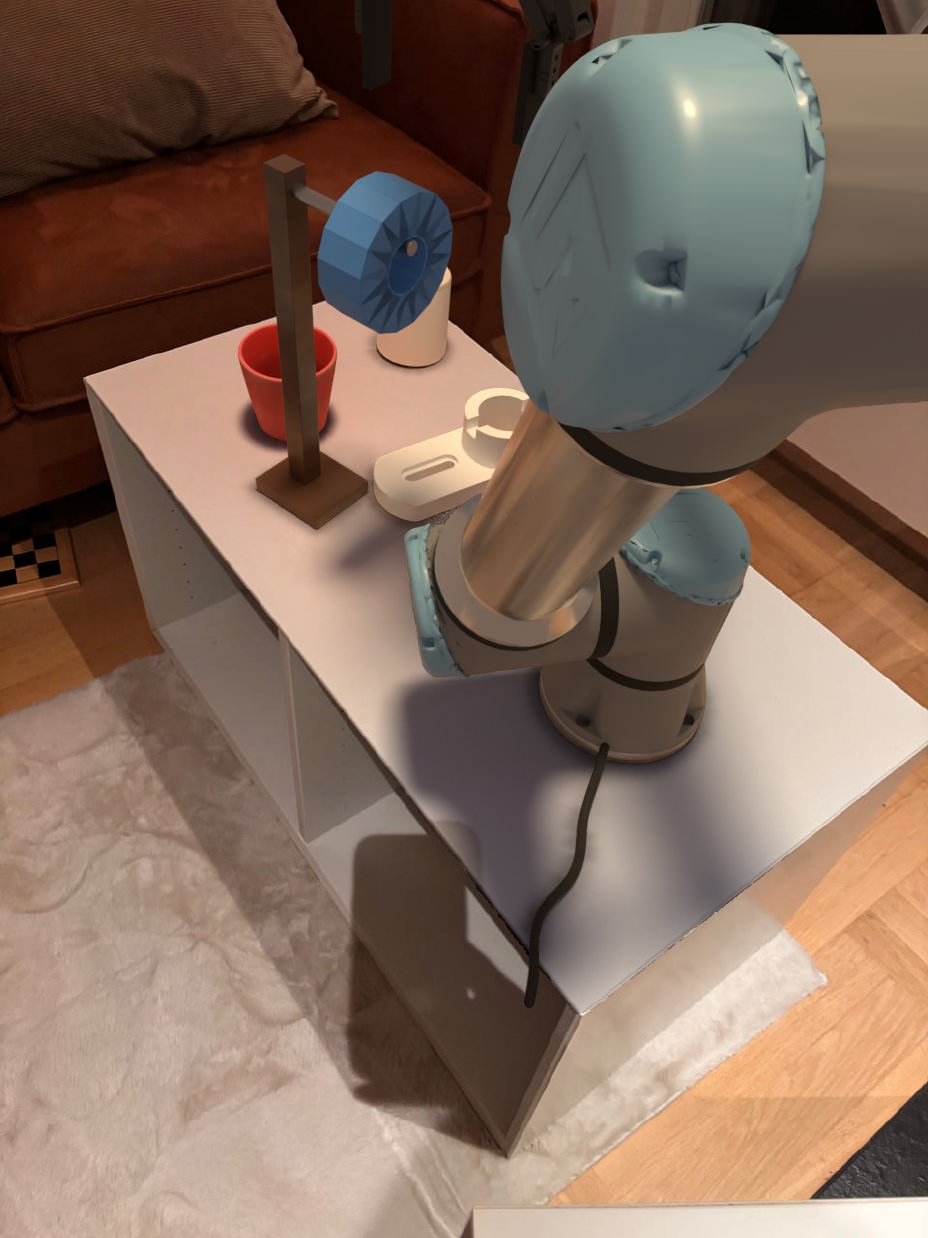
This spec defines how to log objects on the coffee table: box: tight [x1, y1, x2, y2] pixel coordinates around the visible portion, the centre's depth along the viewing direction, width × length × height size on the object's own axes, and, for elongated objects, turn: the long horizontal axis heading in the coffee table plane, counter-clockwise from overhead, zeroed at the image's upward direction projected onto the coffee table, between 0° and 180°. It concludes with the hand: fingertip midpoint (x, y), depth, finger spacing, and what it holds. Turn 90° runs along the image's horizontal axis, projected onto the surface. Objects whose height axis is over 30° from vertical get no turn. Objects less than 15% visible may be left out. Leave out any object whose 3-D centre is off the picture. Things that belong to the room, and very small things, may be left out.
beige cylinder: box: [375, 267, 452, 367], centre depth 116 cm, size 11×9×10 cm
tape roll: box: [316, 170, 454, 334], centre depth 73 cm, size 4×11×11 cm, turn 142°
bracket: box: [372, 387, 529, 522], centre depth 102 cm, size 20×9×7 cm, turn 123°
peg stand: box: [255, 153, 417, 530], centre depth 86 cm, size 17×8×35 cm, turn 52°
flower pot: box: [237, 322, 338, 442], centre depth 104 cm, size 11×11×10 cm
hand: (449, 111), depth 70 cm, fingers open, 13 cm apart
